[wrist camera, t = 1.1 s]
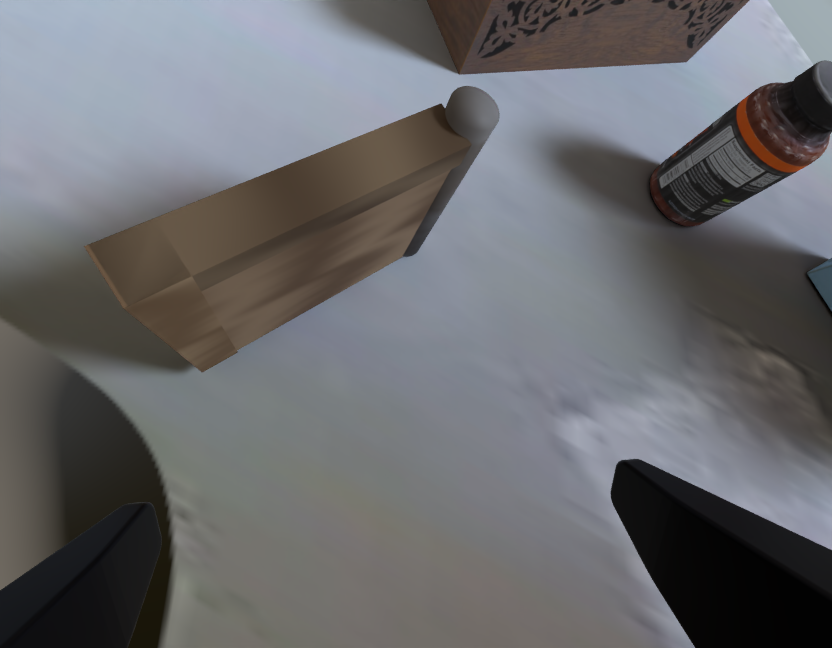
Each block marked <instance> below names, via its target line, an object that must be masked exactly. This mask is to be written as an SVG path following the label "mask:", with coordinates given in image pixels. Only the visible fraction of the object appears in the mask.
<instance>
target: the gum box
mask: <svg viewBox="0 0 832 648" xmlns="http://www.w3.org/2000/svg"><path fill="white" fill-rule="evenodd" d="M807 275H808V276H809V278H810V279H811V281H812V282H813V283H814V285H815V286H816V288H817V289H818V291H819V293H820V294H821V296H822V297H823V299H824V300H825V302H826V303H827V305H828V307H829V308H830V310H831V311H832V258H831V259H829V260H827V261H826V262H824V263H823V264H821V265H819V266H817V267H816V268H814V269H812V270H810V271H809V272H807Z"/></svg>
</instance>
